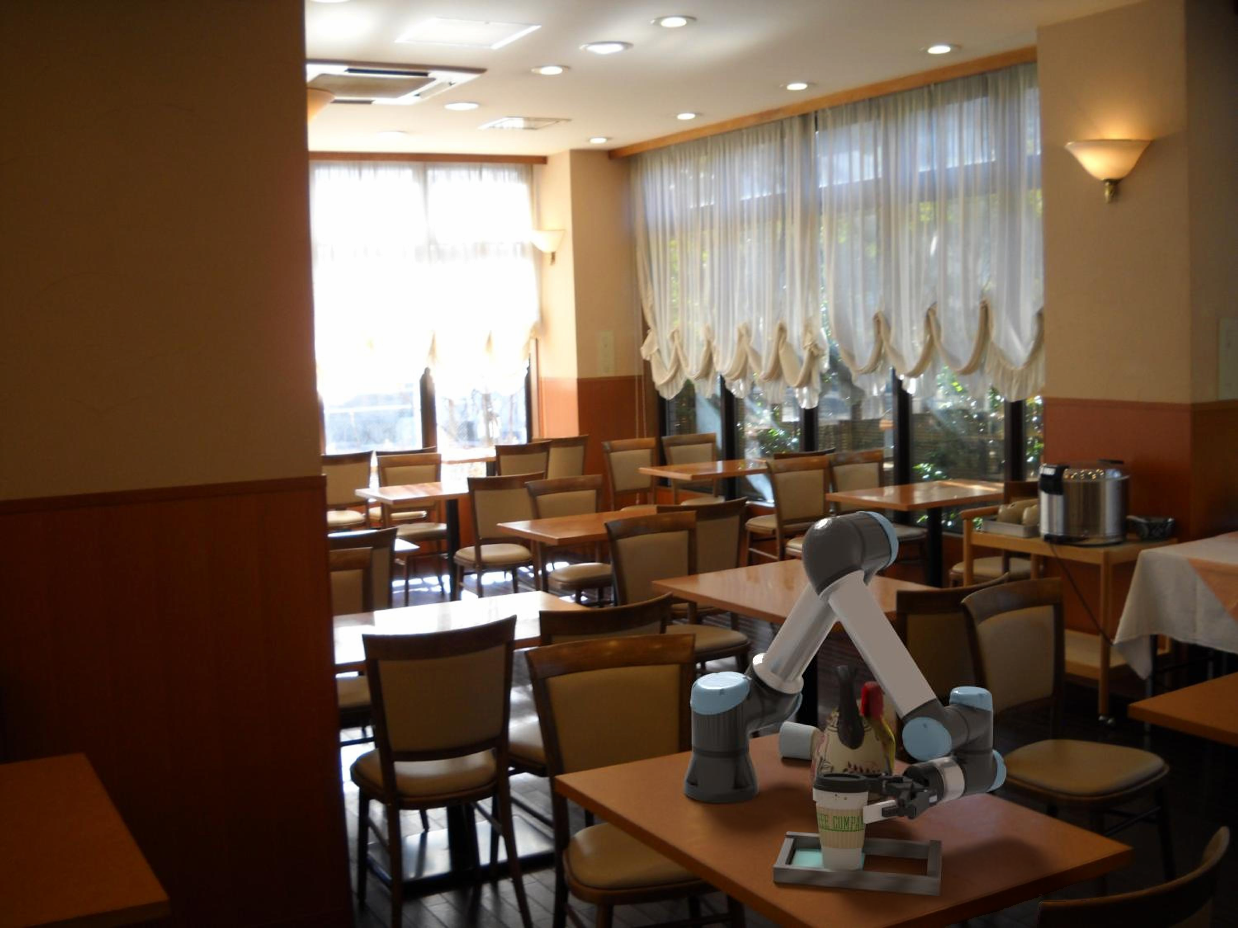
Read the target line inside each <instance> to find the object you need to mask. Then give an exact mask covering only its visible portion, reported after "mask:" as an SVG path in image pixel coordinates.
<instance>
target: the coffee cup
mask: <svg viewBox="0 0 1238 928" xmlns="http://www.w3.org/2000/svg"><path fill="white" fill-rule="evenodd" d="M813 784H814V785H813V786H812V789H813V788H814V789H815V791H816V801H815V802H816V803H815V806H816V817H817V818H816V819H817V826H818V827H817V828H818V834H819V838H820V844H821V850H822V860H823V866H824V867H826V868H834V869H846V870H856V869H859V868H860V861H861V852H862V847H863V843H864V837H865V833H866V823H863V807H864V806H867V799H868V791H870V790H871V788H870V784H868V780H867V777H865V776H863V775H858V774H851V773H821V774H818V775H817V777H816V781H815V782H814V783H813Z"/></svg>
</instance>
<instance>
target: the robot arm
mask: <svg viewBox="0 0 1238 928" xmlns="http://www.w3.org/2000/svg"><path fill="white" fill-rule="evenodd" d="M898 552H899V540H898V536H897V532H896V529H895V527H894V525H893V524H892V523H891V521H889V520H888V518H886V517H885V516H884V515H883V514H880V513H877V512H874V511H856V512H854V513H848V514H843V515H837V516H829V517H825V518H821V519H819V520H818V521H816V522H815V523H813V524H812V525H811V526H810V527H809V529H808V530H807V531H806V533H805V535H804V537H803V540H802V543H801V560H802V565H803V569H804V572H805V574H806V577H807V579H808V582H807V584H806V586H805V588H804V590H803V591H802V593H801V594H800V596H799V598H798V599H797V601H796V602H795V604H794V606H793V608H792V610H791V611H790V613H789V614H788V615H787V618H786V619H785V621H784V623H783V624H782V626H781V628H780V629H779V631H778V633H777V634H776V636H775V637H774V639H773V640H772V642H771V644H770V645H769V648H768V649H767V650H766V651H765V652H761V653H758V654H756V655H755V656H754V657H753V659H752V660H751V662H750V664H749V666H748V668H747V669H746V670H745V672H744V673H740V672H737V671H720V672H718V673H717V672H712V673H709V674H708V673H707V674H705V675H703V676H701V677H699V678H698V679H696V681H694V683H693V684H692V687H691V695H690V701H689V702H690V703H689V704H690V714H691V715H690V717H691V718H690V719H691V725H690V726H691V756H690V759H689V763H688V766H687V768H686V769H687V770H686V774H685V776H684V780H683V792H684V794H685V795H686V796H687V797H689V798H691V799H693V800H695V801H696V800H697V801H700V802H705V803H713V804H731V803H740V802H744V801H748V800H751V799H754V798H755V797H756V796H757V795H758V794H759V791H760V790H759V787H760V786H759V779H758V776H757V773H756V772H757V771H756V769H755V767H754V763H753V761H752V758H751V757H752V756H751V753H750V733H751V734H752V733H754V732H756V731H759V730H763V729H765V728H770V727H772V726H777V725H780V724H783V723H784V722H786V721H787V720H789V719H791V718H792V717H793V716H794V715H795V714H796V713H797V712H798V710H799V709H800V707H801V705H802V701H803V694H802V690H803V687H804V679H803V677H802V675H803V673H804V672H805V671H806V669H807V667H809V664H810V663H811V661H812V659H814V656H815V655H816V654H817V651H819V648H820V647H821V646H822V643H823V642H824V641H825V639H826V638H827V636H828V634H829V633H830V631H831V630H832V628H833V626H834V625H835V624H836V622H837V620H839V622H840V623H841V626H842V627H843V628H844V630H845V632H846V633H847V635H848V636H849V638H850V639H851V641H852V643H853V644H854V646H855V647H856V649H857V651H858V652H859V655H860V656H861V657H862V659H863V660H864V662H865V664H866V665H867V667H868V669H869V670H870V672H871V673H872V676H873V677H874V678H875V680H876V682H878V683H879V685H880V686H881V688H882V689H883V694H885V696H886V697H887V699H888V701H889V702H890V704H891V706H892V707H893V709H894V710H895V712H896V713H897V715H898V717H899V718H900V720H901V722H902V723H903V725H904V727H903V730H902V735H901V737H902V741H903V743H902V744H903V746H904V749H905V750H906V752H907V753H908V754H909V755H910V756H911V757H913V758H914V759H916V760H918V761H922V762H916V763H913V764H910V765H908V766H907V767H906V768H904V769H905V770H904V771H903V772H902V774H893V775H892V776H889V772H888V771H880V772H867V773H851V774H858V775H863V776H865V777H867V780H868V784H870V788H871V790H870V791H868V793H877V794H878V795H879V796H886V797H888V798H889V797H890V798H892V797H893V798H894V799H896V800H894V799H890V800H887V801H885V802H881V803H877V804H872V805H868V806H864V807H863V823H866V824H870V823H874V822H880V821H884V820H887V819H890V818H895V817H899V818H904V817H907V819H908V820H911V821H913V820H915V819H917V818H918V817H920V815H922V814H923V813H924V812H925V811H927V810H928V809H929V808H931V807H934V806H937V805H938V804H939V803H940V804H941V803H942V804H947V801H951V800H956V799H960V798H964V797H969V796H974V795H980V794H985V793H987V792H991V791H994V790H995V789H998V788H1000V787H1001V786H1002V785H1003V784H1004V782H1005V780H1006V778H1007V767H1006V765H1005V763H1004V758H1003V757H1002V755H1001V754H1000V753H999V752H998V751H997V750H995V749H993V741H994V740H993V739H994V737H993V734H994V733H993V728H994V725H993V724H994V709H993V697H992V693H991V692H990V691H989V690H987V689H986V688H982V687H977V686H958V687H955V688H952V690H951V692H950V694H949V700H948V703H949V705H948V706H945V707H944V706H943V704H942V702H940V700H939V698H938V697H937V696H936V694H935V692H934V691H933V690H932V688H931V686H930V685H929V683H928V681H927V680H926V677H925V676H924V674H923V673H922V672H921V670H920V669H919V668H918V665H917V664H916V662H915V660H914V659H913V657H912V656H911V654H910V653H909V651H908V649H907V648H906V646H905V645H904V643H903V642H902V640H901V638H900V636H898V634H897V632H896V630H895V629H894V627H893V626H892V624H891V623H890V621H889V619H888V618H887V616H886V615H885V613H884V611H883V610H882V608H881V606H880V605H879V604H878V602H877V601H876V599H875V597H874V595H873V594H872V592H871V591H870V590H869V588H868V586H869V584H870V583H871V581H872V580H873V578H874V576H876V574H877V572H878V571H882V570H884V569H887V568H888V567H889V566H891V565H892V564H893V563H894V561H895V560H896V558H897V555H898ZM948 754H950V755H949V756H947V755H948ZM883 787H885V791H886V792H884V791H883ZM812 800H813V801H815V802H817V801H816V791H815V789H814V788H813V787H812ZM896 802H897V803H896Z"/></svg>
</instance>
